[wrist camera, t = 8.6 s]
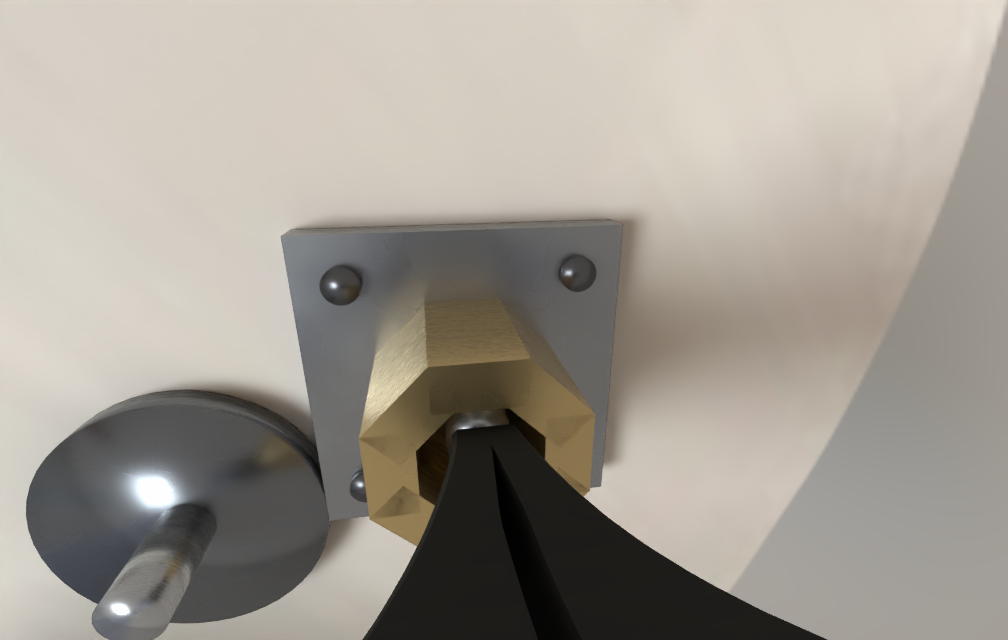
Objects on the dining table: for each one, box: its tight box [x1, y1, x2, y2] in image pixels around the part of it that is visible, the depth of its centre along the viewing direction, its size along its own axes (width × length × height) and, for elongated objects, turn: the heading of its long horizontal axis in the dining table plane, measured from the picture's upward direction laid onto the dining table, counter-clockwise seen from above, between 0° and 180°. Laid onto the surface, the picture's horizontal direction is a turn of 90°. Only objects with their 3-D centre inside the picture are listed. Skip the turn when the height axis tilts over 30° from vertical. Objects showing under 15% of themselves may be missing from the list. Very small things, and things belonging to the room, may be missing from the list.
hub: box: [281, 219, 623, 521], centre depth 13 cm, size 9×9×4 cm
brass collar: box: [359, 299, 595, 546], centre depth 12 cm, size 5×5×4 cm
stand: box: [26, 391, 331, 640], centre depth 13 cm, size 8×8×4 cm
